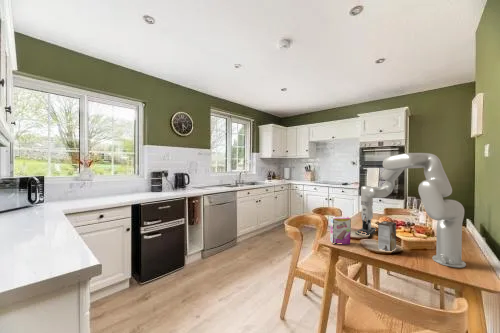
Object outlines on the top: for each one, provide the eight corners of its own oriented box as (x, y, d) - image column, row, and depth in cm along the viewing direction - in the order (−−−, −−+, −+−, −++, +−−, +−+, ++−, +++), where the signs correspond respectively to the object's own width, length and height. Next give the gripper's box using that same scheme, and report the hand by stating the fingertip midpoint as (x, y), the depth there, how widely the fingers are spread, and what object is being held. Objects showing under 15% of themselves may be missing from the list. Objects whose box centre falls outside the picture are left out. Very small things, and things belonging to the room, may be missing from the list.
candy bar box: (333, 245, 138) (333, 218, 137) (329, 242, 143) (330, 216, 142) (351, 244, 138) (351, 218, 138) (347, 241, 143) (347, 216, 143)
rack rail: (367, 237, 151) (367, 234, 151) (355, 234, 157) (355, 231, 157) (377, 230, 165) (377, 228, 165) (365, 228, 171) (365, 226, 171)
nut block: (368, 234, 158) (369, 223, 158) (362, 232, 161) (362, 222, 161) (371, 232, 161) (371, 222, 161) (364, 231, 164) (364, 221, 164)
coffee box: (384, 247, 134) (384, 220, 133) (396, 250, 129) (396, 222, 128) (377, 251, 128) (378, 223, 127) (390, 254, 123) (390, 225, 123)
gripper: (368, 205, 152) (368, 232, 152) (376, 202, 164) (376, 226, 164) (356, 204, 157) (356, 229, 158) (365, 201, 169) (365, 225, 170)
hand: (366, 228), depth 161 cm, fingers open, 6 cm apart
